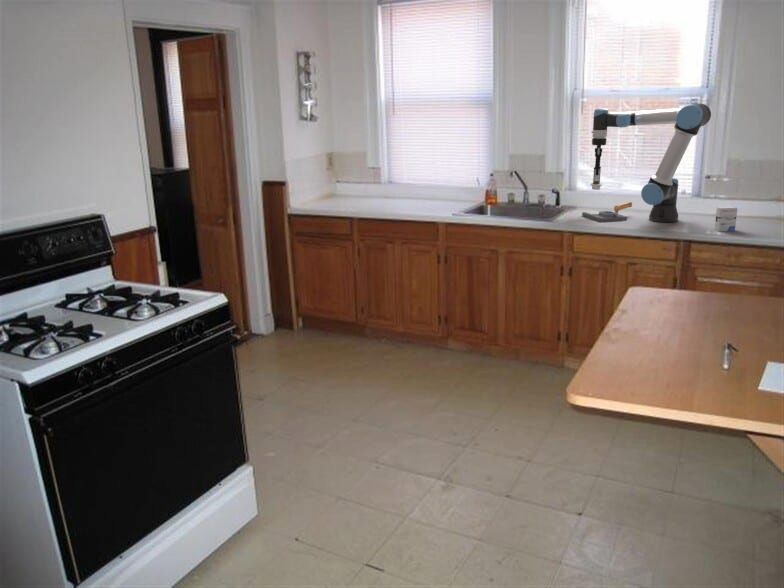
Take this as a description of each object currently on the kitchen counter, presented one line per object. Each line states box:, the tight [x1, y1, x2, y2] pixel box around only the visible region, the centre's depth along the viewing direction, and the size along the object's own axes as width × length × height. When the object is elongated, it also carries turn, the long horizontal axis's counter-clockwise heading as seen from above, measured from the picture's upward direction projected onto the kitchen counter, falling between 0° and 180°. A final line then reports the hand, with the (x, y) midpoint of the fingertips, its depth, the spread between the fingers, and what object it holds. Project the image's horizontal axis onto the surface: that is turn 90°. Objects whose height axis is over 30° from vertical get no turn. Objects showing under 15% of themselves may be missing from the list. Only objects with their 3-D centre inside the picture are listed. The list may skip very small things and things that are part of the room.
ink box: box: [714, 206, 738, 232], centre depth 358 cm, size 8×5×12 cm, turn 92°
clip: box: [613, 201, 633, 212], centre depth 394 cm, size 17×3×3 cm, turn 136°
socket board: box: [581, 210, 627, 223], centre depth 397 cm, size 20×16×5 cm
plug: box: [590, 166, 603, 191], centre depth 395 cm, size 6×6×12 cm
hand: (596, 180), depth 395 cm, fingers closed on plug, 3 cm apart
